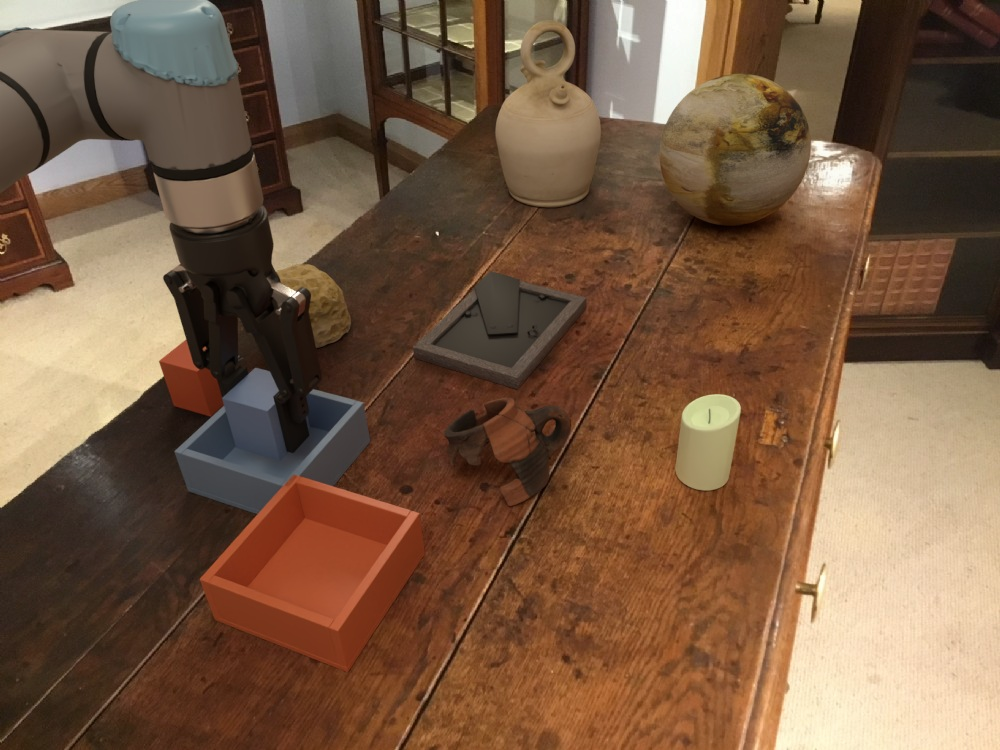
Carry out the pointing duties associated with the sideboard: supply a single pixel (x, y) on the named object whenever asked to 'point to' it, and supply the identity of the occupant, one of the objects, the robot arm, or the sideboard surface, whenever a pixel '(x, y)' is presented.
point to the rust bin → (316, 570)
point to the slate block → (256, 415)
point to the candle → (707, 441)
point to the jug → (548, 130)
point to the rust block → (190, 382)
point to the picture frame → (501, 330)
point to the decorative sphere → (735, 149)
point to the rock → (320, 302)
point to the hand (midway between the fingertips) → (273, 435)
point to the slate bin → (258, 478)
